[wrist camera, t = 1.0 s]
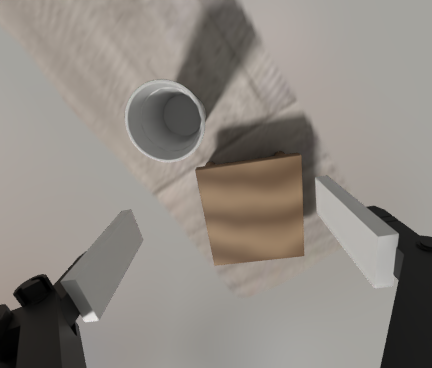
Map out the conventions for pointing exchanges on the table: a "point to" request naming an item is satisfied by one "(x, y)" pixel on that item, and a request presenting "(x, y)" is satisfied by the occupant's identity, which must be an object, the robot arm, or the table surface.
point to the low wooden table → (253, 208)
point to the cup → (165, 120)
